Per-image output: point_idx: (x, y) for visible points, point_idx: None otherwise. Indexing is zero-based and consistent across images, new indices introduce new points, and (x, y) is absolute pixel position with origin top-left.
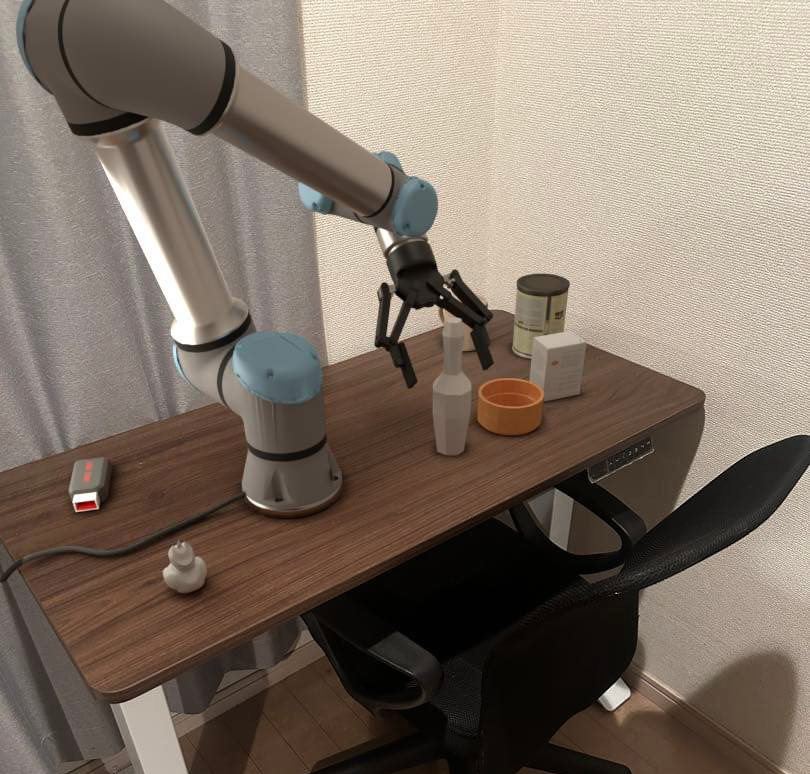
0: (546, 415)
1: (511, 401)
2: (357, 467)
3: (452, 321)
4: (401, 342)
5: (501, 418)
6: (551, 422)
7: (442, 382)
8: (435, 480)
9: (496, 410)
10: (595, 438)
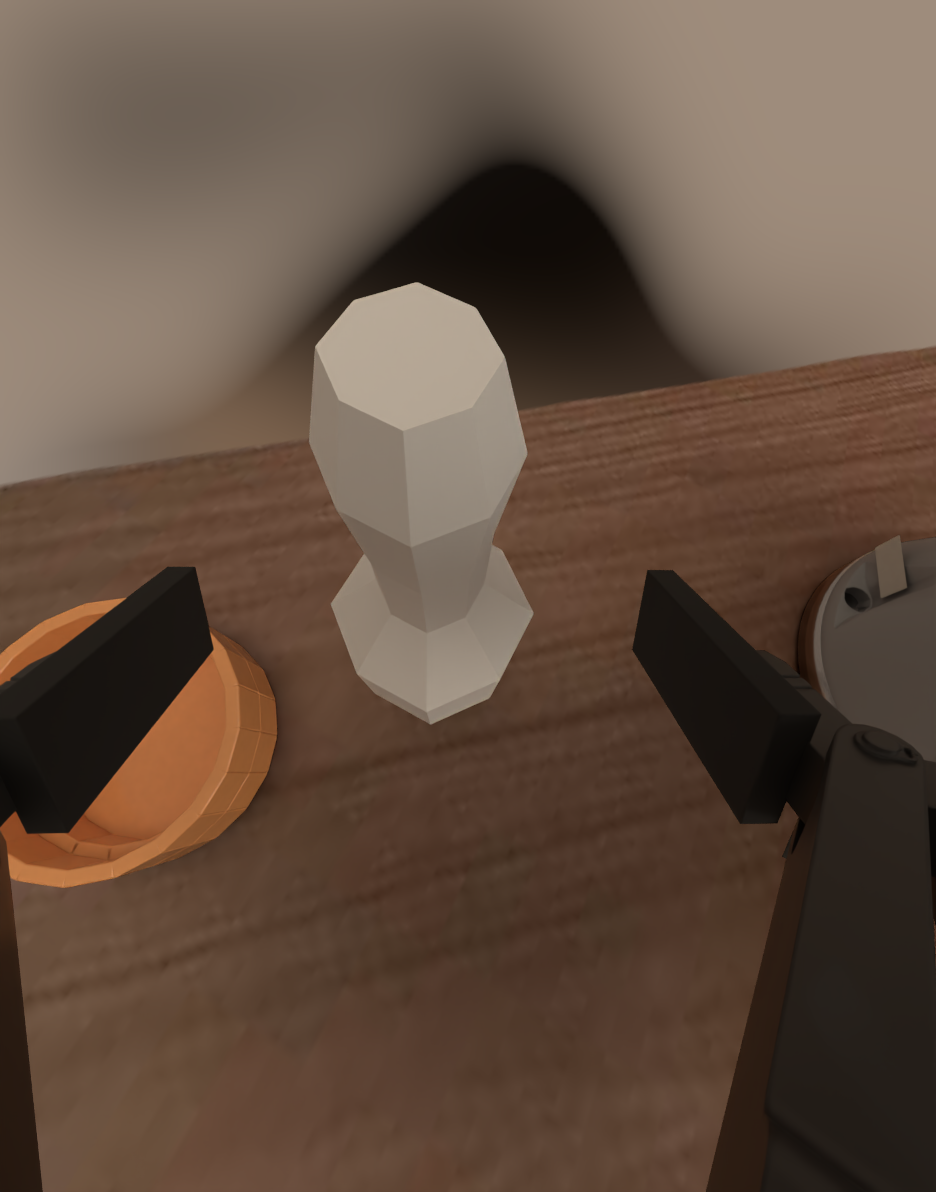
0: None
1: None
2: None
3: (444, 330)
4: (801, 711)
5: (236, 650)
6: None
7: (499, 576)
8: (554, 550)
9: (235, 661)
10: (36, 526)
